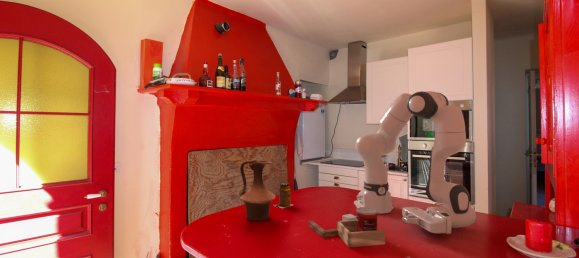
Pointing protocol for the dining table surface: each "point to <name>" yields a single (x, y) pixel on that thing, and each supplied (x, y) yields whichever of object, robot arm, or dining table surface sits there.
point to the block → (348, 217)
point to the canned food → (366, 219)
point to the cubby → (359, 235)
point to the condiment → (284, 196)
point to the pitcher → (256, 192)
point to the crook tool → (322, 230)
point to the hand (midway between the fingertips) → (404, 219)
